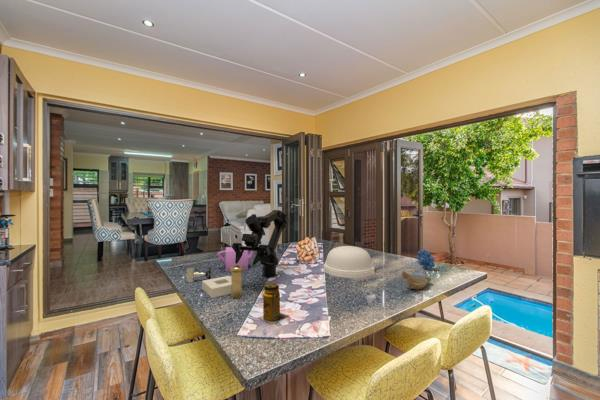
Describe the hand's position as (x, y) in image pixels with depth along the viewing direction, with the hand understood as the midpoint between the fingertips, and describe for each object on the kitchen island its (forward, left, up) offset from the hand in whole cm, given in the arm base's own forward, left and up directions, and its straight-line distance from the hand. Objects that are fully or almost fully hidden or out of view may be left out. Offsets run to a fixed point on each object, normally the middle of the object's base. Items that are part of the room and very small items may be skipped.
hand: (244, 264), depth 127 cm
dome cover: (-65, +4, -13) cm, 67 cm away
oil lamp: (-70, +45, -13) cm, 84 cm away
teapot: (-15, -41, -13) cm, 45 cm away
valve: (+13, -29, -13) cm, 34 cm away
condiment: (+3, +31, -13) cm, 34 cm away
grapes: (-103, +30, -13) cm, 108 cm away
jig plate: (+8, -8, -13) cm, 17 cm away
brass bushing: (+6, +4, -13) cm, 14 cm away
